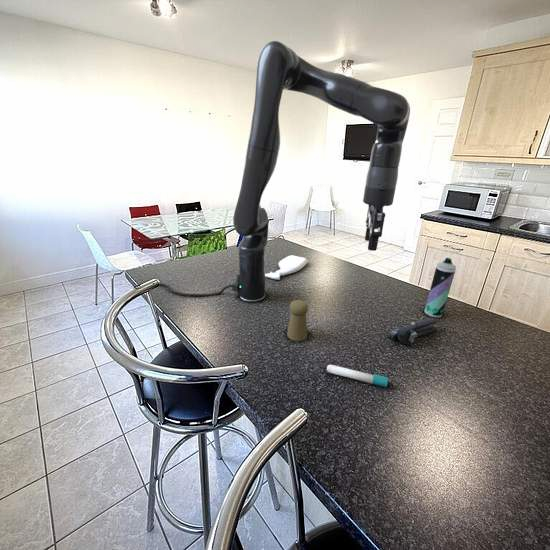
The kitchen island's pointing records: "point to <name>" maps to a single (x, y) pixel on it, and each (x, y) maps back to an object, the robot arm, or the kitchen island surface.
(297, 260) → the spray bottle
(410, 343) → the can opener
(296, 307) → the cork
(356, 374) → the marker
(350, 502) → the kitchen island surface
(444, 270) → the spray can
